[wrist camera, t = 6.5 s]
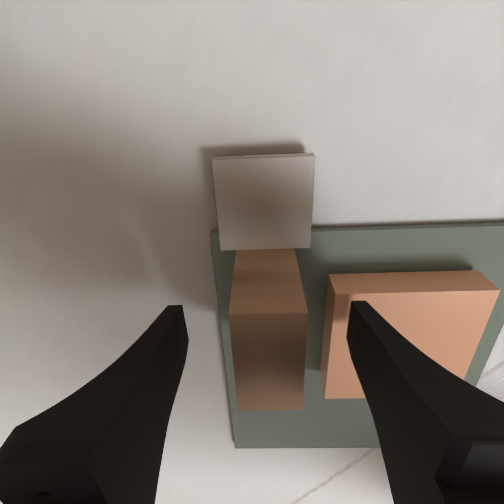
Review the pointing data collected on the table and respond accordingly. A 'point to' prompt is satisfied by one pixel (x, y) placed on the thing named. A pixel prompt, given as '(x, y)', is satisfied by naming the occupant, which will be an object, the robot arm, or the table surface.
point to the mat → (315, 291)
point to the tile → (407, 319)
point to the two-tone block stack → (266, 272)
